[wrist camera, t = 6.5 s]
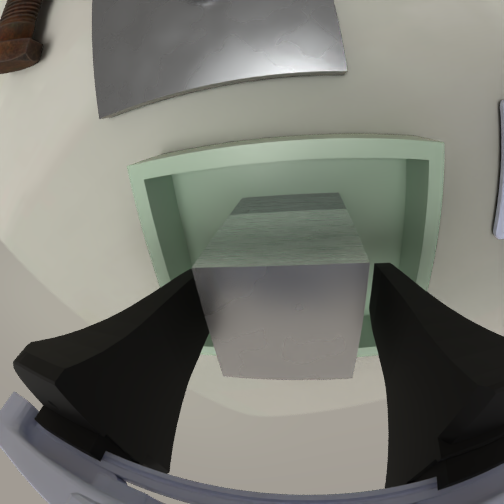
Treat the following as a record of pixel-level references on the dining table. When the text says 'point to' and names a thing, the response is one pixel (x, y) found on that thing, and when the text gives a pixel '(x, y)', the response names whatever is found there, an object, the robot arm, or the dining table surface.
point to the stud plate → (206, 46)
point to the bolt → (19, 35)
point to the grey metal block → (285, 288)
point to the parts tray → (297, 182)
